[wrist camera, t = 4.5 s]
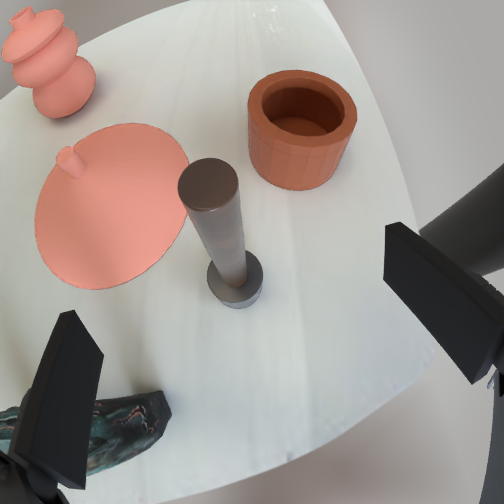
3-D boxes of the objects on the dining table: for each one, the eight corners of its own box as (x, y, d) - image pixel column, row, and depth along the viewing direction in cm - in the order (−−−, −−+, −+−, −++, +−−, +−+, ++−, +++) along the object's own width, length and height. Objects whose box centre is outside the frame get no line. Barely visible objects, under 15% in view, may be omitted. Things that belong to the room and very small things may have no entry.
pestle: (269, 274, 29) (296, 155, 10) (248, 316, 28) (237, 273, 9) (227, 255, 30) (185, 115, 10) (206, 296, 29) (118, 214, 9)
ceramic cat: (43, 454, 23) (-76, 498, 4) (23, 405, 25) (-107, 421, 6) (187, 428, 25) (89, 546, 6) (161, 367, 27) (15, 403, 8)
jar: (348, 138, 33) (367, 93, 26) (320, 205, 31) (339, 165, 23) (271, 107, 35) (274, 59, 27) (233, 168, 32) (228, 122, 25)
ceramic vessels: (227, 224, 31) (196, 83, 12) (60, 322, 28) (-80, 293, 10) (127, 55, 39) (93, -36, 21) (20, 122, 36) (-38, 52, 18)
